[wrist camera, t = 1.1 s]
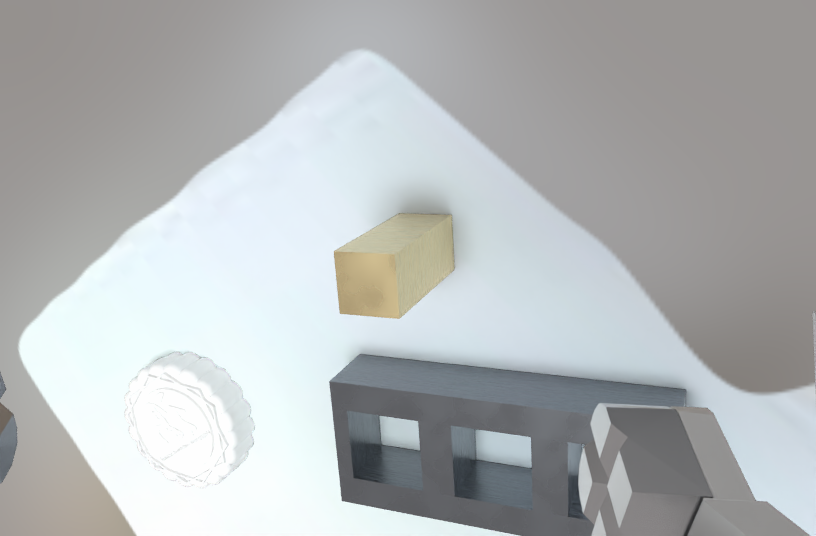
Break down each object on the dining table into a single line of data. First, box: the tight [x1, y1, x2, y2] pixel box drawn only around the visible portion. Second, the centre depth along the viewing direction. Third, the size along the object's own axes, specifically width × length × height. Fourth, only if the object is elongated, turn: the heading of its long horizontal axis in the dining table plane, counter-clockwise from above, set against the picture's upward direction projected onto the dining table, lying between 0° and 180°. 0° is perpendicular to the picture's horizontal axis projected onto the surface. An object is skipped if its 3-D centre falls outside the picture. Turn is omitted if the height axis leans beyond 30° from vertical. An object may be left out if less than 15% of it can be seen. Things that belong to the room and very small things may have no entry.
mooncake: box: [125, 352, 255, 488], centre depth 66 cm, size 12×12×4 cm
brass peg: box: [334, 213, 454, 319], centre depth 49 cm, size 4×4×10 cm
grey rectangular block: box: [329, 354, 686, 536], centre depth 53 cm, size 24×10×5 cm, turn 95°
